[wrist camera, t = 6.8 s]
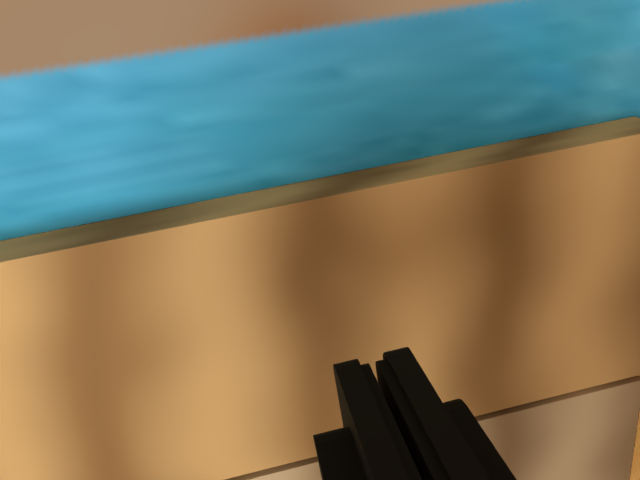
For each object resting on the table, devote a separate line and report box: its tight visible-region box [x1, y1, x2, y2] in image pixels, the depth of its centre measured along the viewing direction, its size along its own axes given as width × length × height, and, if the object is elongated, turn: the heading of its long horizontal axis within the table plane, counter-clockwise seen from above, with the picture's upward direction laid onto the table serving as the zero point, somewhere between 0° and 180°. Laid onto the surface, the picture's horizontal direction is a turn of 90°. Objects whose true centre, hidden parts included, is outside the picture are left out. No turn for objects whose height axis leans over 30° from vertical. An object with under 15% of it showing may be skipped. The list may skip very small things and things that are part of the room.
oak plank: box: [0, 116, 640, 480], centre depth 19 cm, size 24×10×2 cm, turn 98°
